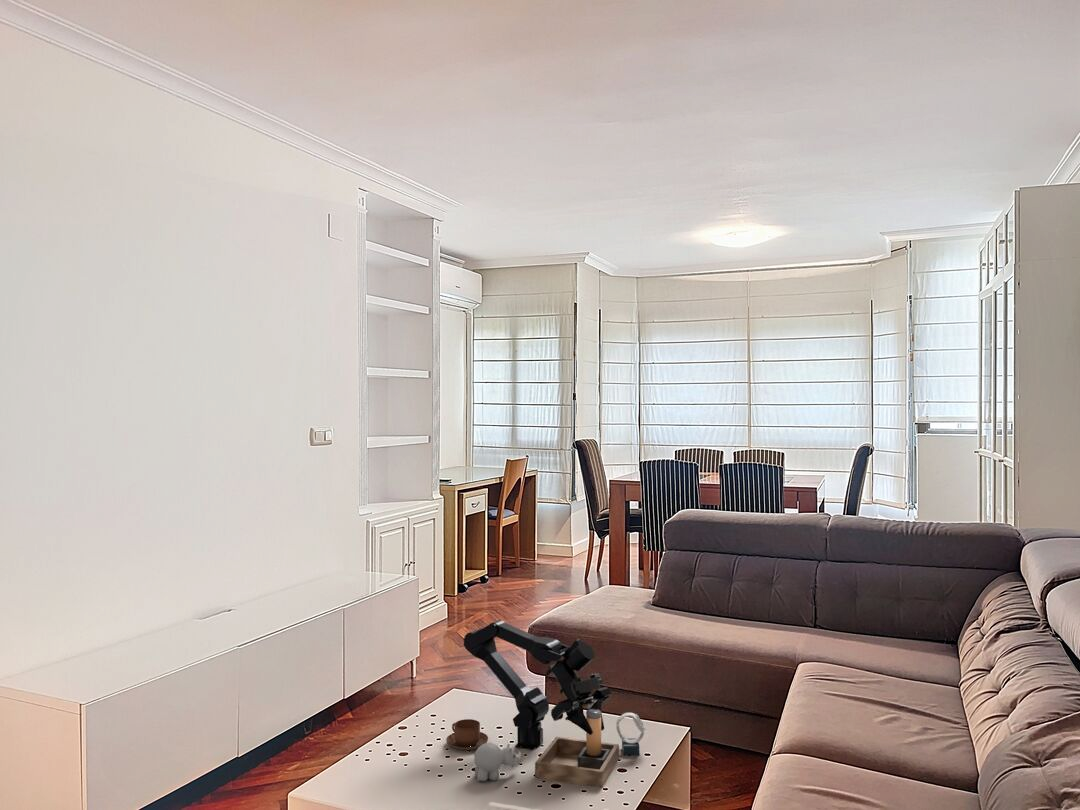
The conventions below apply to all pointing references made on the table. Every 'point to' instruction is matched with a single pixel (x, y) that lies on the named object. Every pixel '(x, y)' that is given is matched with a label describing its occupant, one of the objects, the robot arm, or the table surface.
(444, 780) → the table surface
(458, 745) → the cup and saucer
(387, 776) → the table surface
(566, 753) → the walled box
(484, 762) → the chubby cartoon animal
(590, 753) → the grey-capped orange cylinder
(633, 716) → the watch
